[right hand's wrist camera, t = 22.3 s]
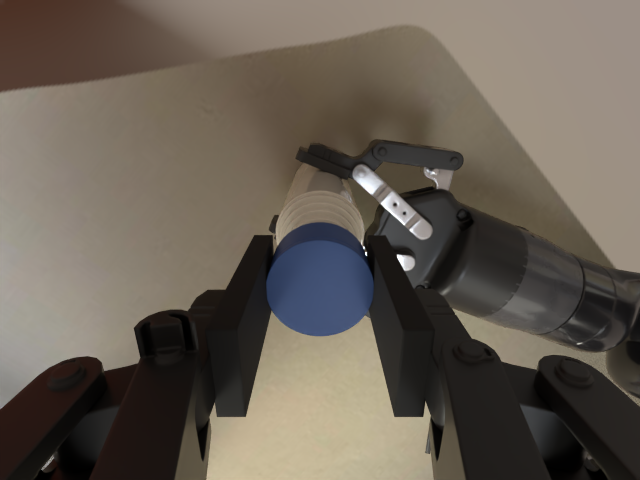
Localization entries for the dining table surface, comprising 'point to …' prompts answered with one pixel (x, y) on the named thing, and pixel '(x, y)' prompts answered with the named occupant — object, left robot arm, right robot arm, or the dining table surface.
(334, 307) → the cap
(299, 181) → the bottle
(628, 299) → the left robot arm
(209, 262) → the dining table surface
